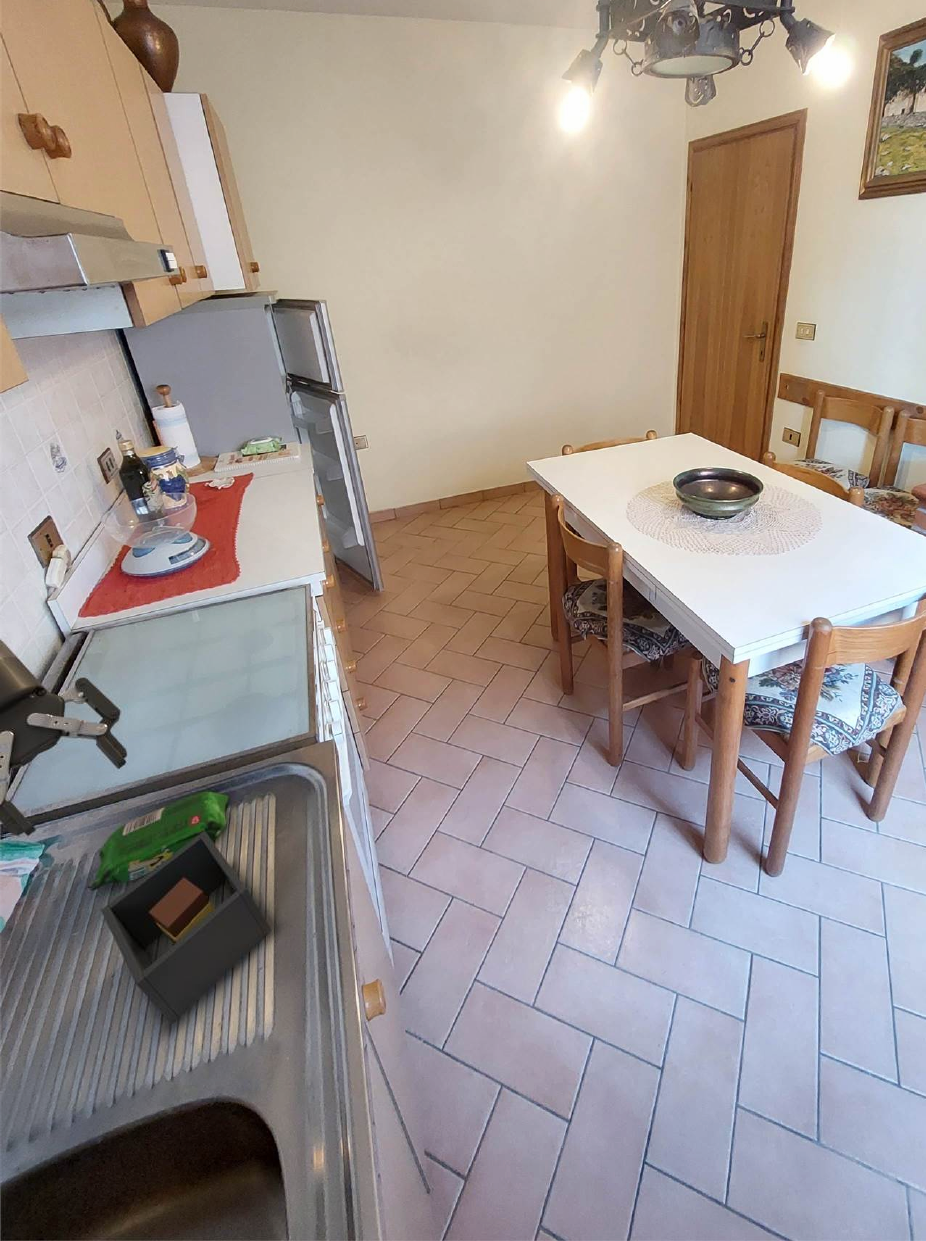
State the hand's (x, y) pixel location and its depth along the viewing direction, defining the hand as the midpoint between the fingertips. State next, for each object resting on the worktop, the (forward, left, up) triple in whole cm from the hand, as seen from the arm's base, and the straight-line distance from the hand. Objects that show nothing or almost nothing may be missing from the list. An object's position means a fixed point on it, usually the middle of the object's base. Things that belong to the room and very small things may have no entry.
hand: (79, 797), depth 60 cm
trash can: (+2, -8, -22) cm, 24 cm away
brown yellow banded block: (+2, -8, -21) cm, 23 cm away
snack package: (+3, +8, -22) cm, 24 cm away
